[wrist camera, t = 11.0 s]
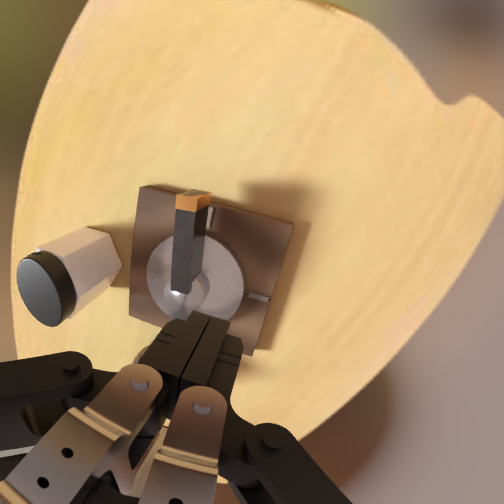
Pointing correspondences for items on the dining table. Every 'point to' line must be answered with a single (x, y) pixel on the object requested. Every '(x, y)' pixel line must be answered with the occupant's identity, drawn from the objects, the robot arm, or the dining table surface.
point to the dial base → (229, 231)
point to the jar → (67, 274)
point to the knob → (195, 265)
